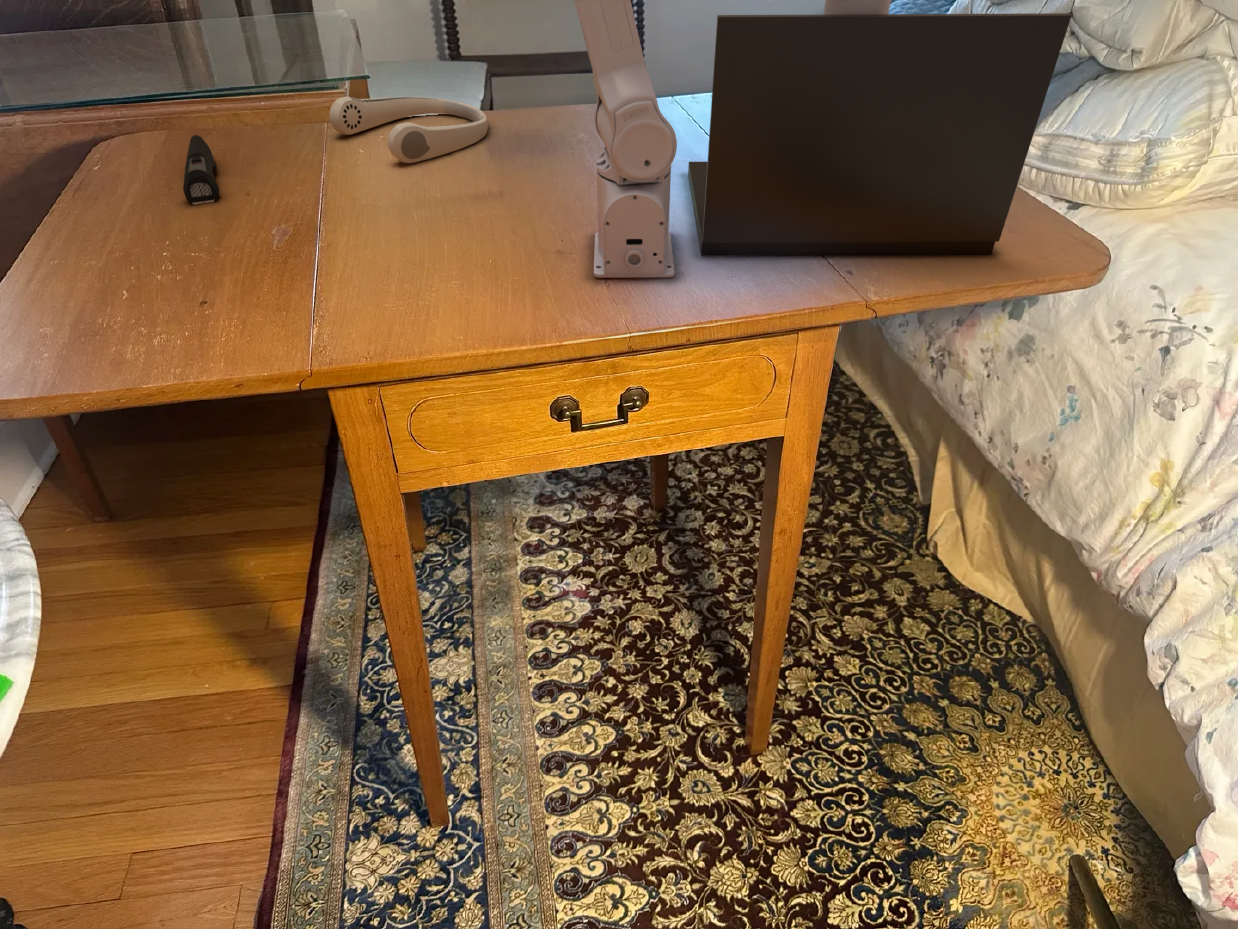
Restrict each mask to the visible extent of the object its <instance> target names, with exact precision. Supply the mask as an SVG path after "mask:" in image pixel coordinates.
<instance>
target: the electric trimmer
mask: <svg viewBox="0 0 1238 929" xmlns="http://www.w3.org/2000/svg"><path fill="white" fill-rule="evenodd" d="M216 171H217V163H216V161H215V158H214V155H213V153H212V150H211V148H210V146H209V145H208V143H207V142H206V141H205V140H204V139H203V137H202V136H200V135H198V134H194V135H192V136H191V137H190V139H189V144H188V149H187V154H186V159H185V166H184V175H183V186H182V189H183V190H182V191H183V194H184V196H185V199H186V201H187V202H189V203H192V205H194V206H195V205H199V204H201V205H202V204H204V203H205V204H209V203H213V202H215V200H217V199H219V197H220V187H219V185H218V182H217V181H216V179H215V176H214V173H215V172H216Z"/></svg>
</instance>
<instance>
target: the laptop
mask: <svg viewBox="0 0 1238 929" xmlns="http://www.w3.org/2000/svg"><path fill="white" fill-rule="evenodd" d="M707 162H708V161H688V167H687V168H688V169H687V178H688V185H689V190H690V196H691V202H692V209H693V215H694V221H695V226H696V234H697V238H698V239H697V240H698V244H699V245H698V246H699V252H700V256H703V257H704V256H707V257H709V256H710V257H711V256H712V257H713V256H716V257H717V256H866V255H867V256H884V255H885V256H888V255H891V256H892V255H893V256H894V255H895V256H899V255H901V256H902V255H907V256H908V255H910V256H911V255H912V256H913V255H915V256H916V255H917V256H918V255H992V254H993V251H994V248H995V244H996V242H816V243H703V241H702V236H703V222H704V207H705V192H706V177H707Z"/></svg>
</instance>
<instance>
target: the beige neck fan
mask: <svg viewBox="0 0 1238 929" xmlns="http://www.w3.org/2000/svg"><path fill="white" fill-rule="evenodd" d="M427 114H428V115H429V114H439V115H441V114H442V115H450V116H451V115H452V116H456V117H460V118H464V119H467V120H469V121H470V122H463V123H457V124H448V125H425V126H424V125H420V124H417V123H415V122H402V123H398V124H396V125H395V126H393V128H392V129H391V131H390V132H389V133H388V137H387V147H388V150H389V152H390V153H391V155H392V156H393V157H394V158H396V159H397V160H398V161H399V162H401V163H404V164H412V163H418V162H423V161H425V160H429V159H433V158H435V157H440V156H443V155H446V154H449V153H453V152H455V151H458V150H462V149H464V148H467V147H468V146H471V145H472V144H475V143H477V142H479V141H480V140H481V139H483V138H485V136H486V135H487V133H488V130H489V129H488V127H489V125H488V123H489V122H488V118H487V115H486V114H485V112H484V111H482V110H481V109H479V108H478V107H475V106H473V105H471V104H468V103H466V102H465V103H464V102H462V101H461V102H460V101H457V100H456V101H455V100H449V99H442V98H435V97H423V96H394V97H374V98H360V99H359V98H356V97H352V96H348V95H347V96H342V97H339V98H337V99H335V101H333V103H332V105H331V107H330V109H329V121H330V124H331V126H332V128H333V129H334V130H335V131H336V132H337V133H339V134H340V135H343V136H351V135H353V134H357V133H360V132H363V131H365V130H368V129H372V128H375V127H377V126H380V125H383V124H387V123H390V122H393V121H395V120H396V121H397V120H401V119H403V118H407V117H413V116H419V115H427ZM380 119H381V120H380Z"/></svg>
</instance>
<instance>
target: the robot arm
mask: <svg viewBox="0 0 1238 929" xmlns="http://www.w3.org/2000/svg"><path fill="white" fill-rule="evenodd" d="M891 2H892V0H824V8H823V14H822V15H832V14H890V7H891ZM573 3H574V7H575V11H576V13H577V17H578V21H579V25H580V29H581V32H582V36H583V40H584V44H585V48H586V51H587V55H588V59H589V61H590V62H589V63H590V65H591V70H592V80H593V84H594V89H595V92H596V105H595V110H594V126H595V129H596V132H597V134H598V135H599V137H600V140H602V142H603V144H604V147H603V149H602V150H601V153H600V154H599V156H598V159H596V201H597V207H596V208H597V232H595V234H594V250H593V252H594V253H593V277H595V278H599V279H603V278H604V279H605V278H606V279H607V278H608V279H609V278H610V279H613V278H614V279H616V278H626V279H627V278H672V277H673V278H674V277H675V263H674V257H673V256H674V255H673V254H674V253H673V246H672V236H671V232H670V231H669V230H670V206H671V205H670V203H671V180H672V179H671V178H672V177H671V176H672V164H673V162H674V159H675V157H676V154H677V149H678V139H677V135H676V132H675V129H674V127H673V125H671V123H670V122H669V121H668V119H667V118H666V117H665V116H664V115H663V113H662V112H661V109H660V106H659V103H658V99H657V95H656V92H655V89H654V86H653V83H652V80H651V78H650V75H649V71H648V69H647V65H646V63H645V58H644V53H643V50H642V44H641V41H640V36H639V31H638V28H637V22H636V18H635V13H634V8H633V6H632V0H573Z"/></svg>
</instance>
